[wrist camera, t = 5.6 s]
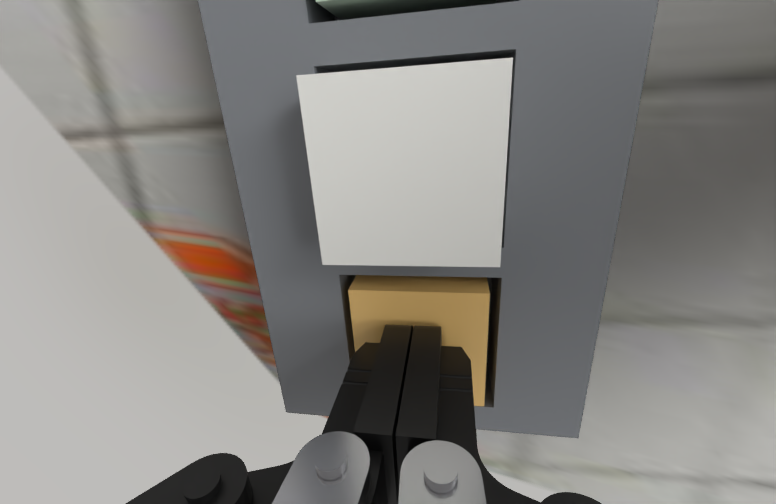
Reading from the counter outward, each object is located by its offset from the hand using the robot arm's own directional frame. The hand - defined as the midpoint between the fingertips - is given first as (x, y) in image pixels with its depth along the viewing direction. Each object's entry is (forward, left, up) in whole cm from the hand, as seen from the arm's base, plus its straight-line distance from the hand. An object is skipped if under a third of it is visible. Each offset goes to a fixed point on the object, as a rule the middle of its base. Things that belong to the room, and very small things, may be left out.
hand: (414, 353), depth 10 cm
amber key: (0, 0, -2) cm, 2 cm away
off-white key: (0, -5, 0) cm, 5 cm away
